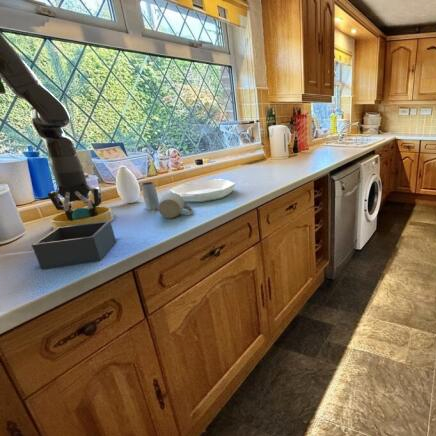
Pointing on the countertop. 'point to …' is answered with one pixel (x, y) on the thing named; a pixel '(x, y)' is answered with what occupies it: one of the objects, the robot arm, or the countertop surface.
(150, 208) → the grey cylinder
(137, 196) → the sauce bottle
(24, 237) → the countertop surface
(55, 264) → the bin
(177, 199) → the ceramic mug
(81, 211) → the toy ball
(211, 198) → the white oval serving dish
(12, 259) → the countertop surface
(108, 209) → the bowl
